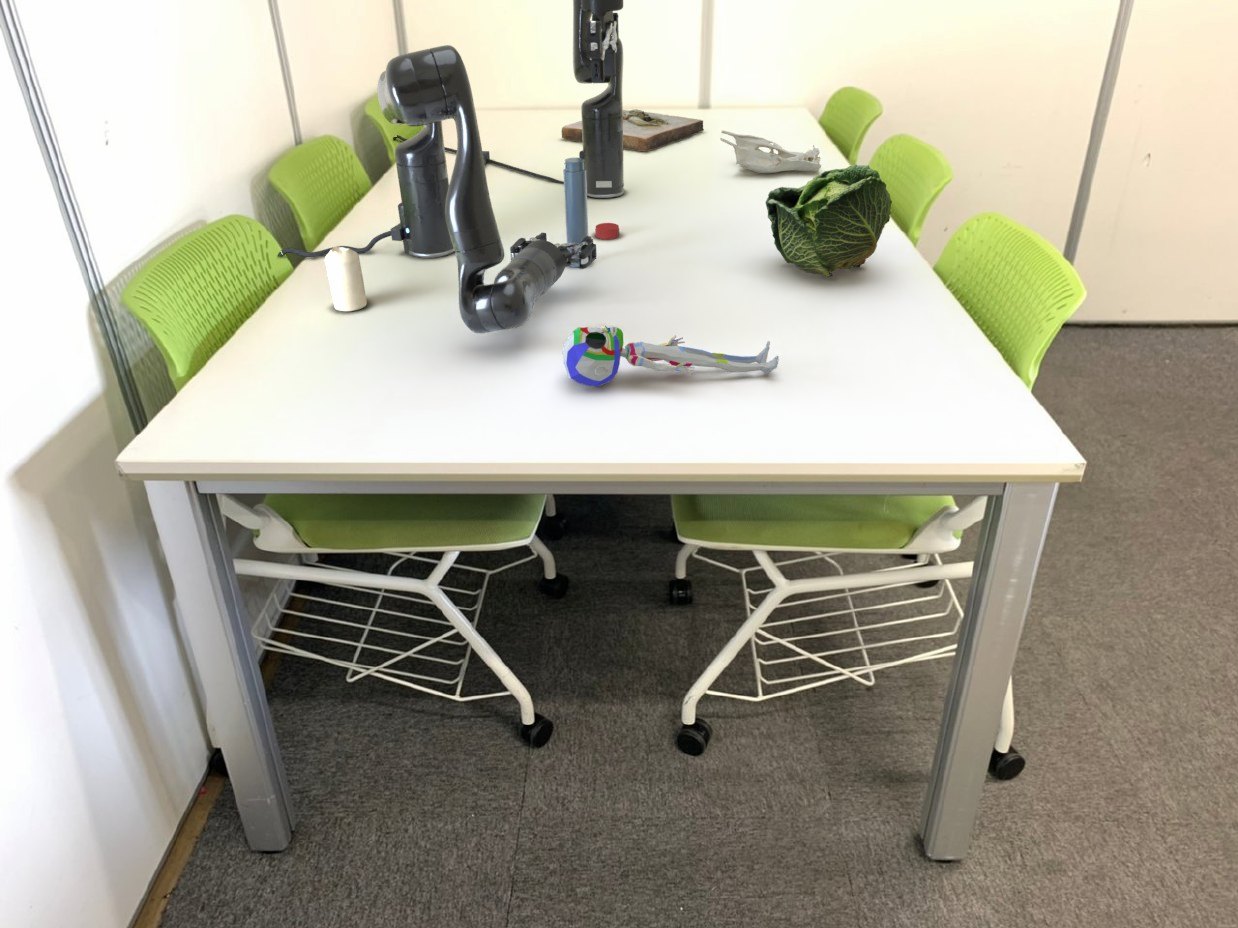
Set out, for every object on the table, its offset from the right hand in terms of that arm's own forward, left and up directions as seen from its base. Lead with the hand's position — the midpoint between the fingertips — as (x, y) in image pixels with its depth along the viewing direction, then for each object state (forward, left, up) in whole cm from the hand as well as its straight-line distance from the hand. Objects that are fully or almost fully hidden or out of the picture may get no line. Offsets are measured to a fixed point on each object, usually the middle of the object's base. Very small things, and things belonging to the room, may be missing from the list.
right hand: (604, 78), depth 167 cm
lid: (0, 0, -28) cm, 28 cm away
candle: (-22, -52, -30) cm, 64 cm away
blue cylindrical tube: (+3, -17, -30) cm, 34 cm away
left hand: (+4, -23, -23) cm, 33 cm away
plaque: (-36, +83, -30) cm, 95 cm away
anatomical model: (+12, +62, -30) cm, 70 cm away
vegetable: (+45, 0, -30) cm, 54 cm away
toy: (+38, -52, -30) cm, 71 cm away
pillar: (-56, +32, -30) cm, 71 cm away
